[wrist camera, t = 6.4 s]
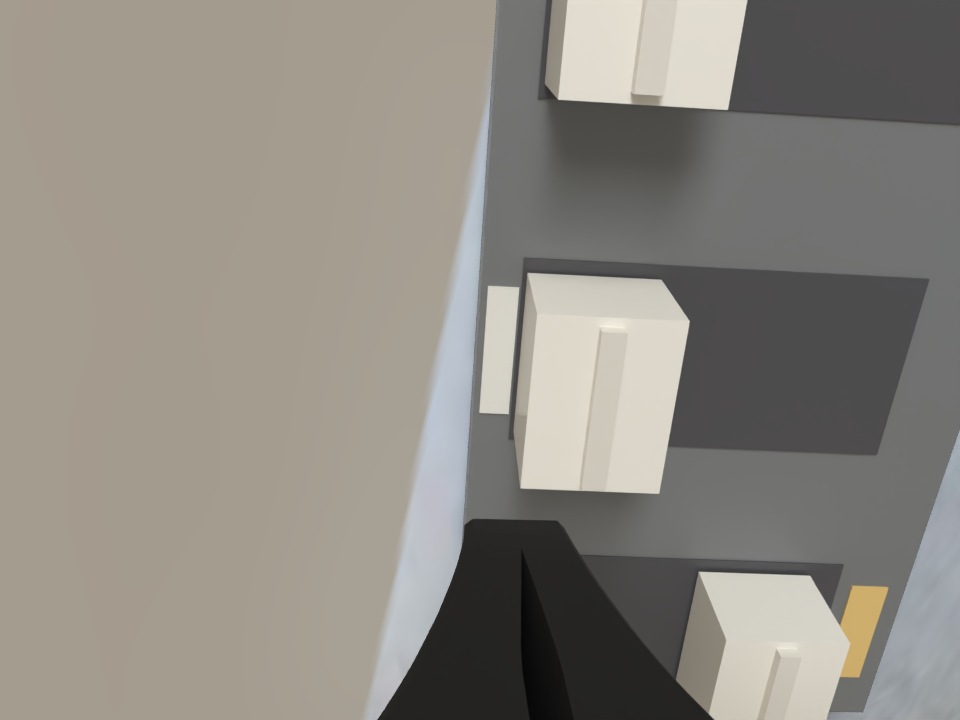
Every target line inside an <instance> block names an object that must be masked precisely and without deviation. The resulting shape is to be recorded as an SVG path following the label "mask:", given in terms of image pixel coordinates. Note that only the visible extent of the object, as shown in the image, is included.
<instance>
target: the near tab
mask: <svg viewBox="0 0 960 720" xmlns="http://www.w3.org/2000/svg"><path fill="white" fill-rule="evenodd" d="M746 6H747V0H552V7H551V18H550V30H549V41H548V52H547V63H546V74H545V85H546V86H547V87H548V88H549V89H550V91H551V92H552V93H553V94H554V95H555V97H556V98H557V99H558V100H571V101H588V102H604V103H620V104H637V105H653V106H670V107H686V108H702V109H719V110H728V107H729V101H730V95H731V90H732V84H733V79H734V73H735V67H736V62H737V56H738V50H739V45H740V39H741V34H742V28H743V22H744V17H745V11H746Z"/></svg>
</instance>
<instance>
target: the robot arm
mask: <svg viewBox="0 0 960 720" xmlns="http://www.w3.org/2000/svg"><path fill="white" fill-rule="evenodd" d="M377 720H714V719H713V718H712V717H711V716H710V715H709V714H708V713H707V712H706V711H705V710H704V709H703V708H702V707H701V706H700V705H699V704H698V703H697V702H696V701H695V700H694V699H693V698H692V697H691V696H690V695H689V694H688V693H687V691H686V690H685V689H684V688H683V687H682V686H681V685H680V684H679V683H678V682H677V681H676V680H675V679H674V677H673V676H672V675H671V674H670V673H669V672H668V671H667V670H666V668H665V667H664V666H663V665H662V664H661V663H660V662H659V660H658V659H657V658H656V657H655V656H654V654H653V653H652V652H651V651H650V650H649V649H648V647H647V646H646V645H645V644H644V643H643V641H642V640H641V639H640V638H639V636H638V635H637V634H636V633H635V631H634V630H633V629H632V628H631V626H630V625H629V624H628V622H627V621H626V620H625V618H624V617H623V616H622V614H621V613H620V612H619V610H618V609H617V608H616V606H615V605H614V604H613V602H612V601H611V600H610V598H609V597H608V596H607V594H606V593H605V591H604V590H603V588H602V587H601V586H600V584H599V583H598V581H597V580H596V578H595V577H594V575H593V574H592V572H591V571H590V569H589V568H588V566H587V565H586V563H585V562H584V560H583V559H582V557H581V555H580V554H579V552H578V551H577V549H576V547H575V546H574V544H573V542H572V541H571V539H570V537H569V535H568V534H567V532H566V530H565V528H564V527H563V526H562V525H561V524H560V523H559V522H558V521H557V520H511V519H472V520H470V521H469V522H468V523H466V524H465V525H464V538H463V544H462V549H461V553H460V556H459V560H458V563H457V566H456V569H455V572H454V575H453V578H452V581H451V583H450V586H449V588H448V591H447V593H446V596H445V598H444V600H443V603H442V605H441V608H440V610H439V612H438V615H437V617H436V619H435V621H434V623H433V625H432V627H431V629H430V631H429V633H428V635H427V637H426V639H425V641H424V643H423V645H422V647H421V649H420V651H419V653H418V655H417V656H416V658H415V660H414V662H413V664H412V665H411V667H410V669H409V671H408V672H407V674H406V676H405V678H404V679H403V681H402V683H401V684H400V686H399V687H398V689H397V691H396V692H395V694H394V695H393V697H392V698H391V700H390V702H389V703H388V705H387V706H386V708H385V709H384V711H383V712H382V714H381V715H380V717H379V718H378V719H377Z"/></svg>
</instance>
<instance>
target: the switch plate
mask: <svg viewBox="0 0 960 720" xmlns="http://www.w3.org/2000/svg"><path fill="white" fill-rule="evenodd" d="M551 7H552V0H497V6H496V21H495V36H494V52H493V68H492V83H491V99H490V114H489V130H488V146H487V161H486V177H485V193H484V208H483V224H482V239H481V255H480V271H479V286H478V302H477V318H476V333H475V349H474V364H473V380H472V396H471V411H470V427H469V443H468V458H467V474H466V490H465V505H464V521H463V536H462V544H463V538H464V525H465V524H466V523H468V522H469V521H470V520H472V519H511V520H557V521H558V522H559V523H560V524H561V525H562V526H563V527H564V528H565V530H566V532H567V534H568V535H569V537H570V539H571V541H572V542H573V544H574V546H575V547H576V549H577V551H578V552H579V554H580V555H581V557H582V559H583V560H584V562H585V563H586V565H587V566H588V568H589V569H590V571H591V572H592V574H593V575H594V577H595V578H596V580H597V581H598V583H599V584H600V586H601V587H602V588H603V590H604V591H605V593H606V594H607V596H608V597H609V598H610V600H611V601H612V602H613V604H614V605H615V606H616V608H617V609H618V610H619V612H620V613H621V614H622V616H623V617H624V618H625V620H626V621H627V622H628V624H629V625H630V626H631V628H632V629H633V630H634V631H635V633H636V634H637V635H638V636H639V638H640V639H641V640H642V641H643V643H644V644H645V645H646V646H647V647H648V649H649V650H650V651H651V652H652V653H653V654H654V656H655V657H656V658H657V659H658V660H659V662H660V663H661V664H662V665H663V666H664V667H665V668H666V670H667V671H668V672H669V673H670V674H671V675H672V676H673V677H674V679H675V680H676V677H677V672H678V667H679V662H680V658H681V653H682V648H683V643H684V639H685V634H686V629H687V624H688V620H689V615H690V610H691V605H692V601H693V596H694V591H695V586H696V582H697V577H698V572H720V573H749V574H777V575H806V576H811V578H812V580H813V582H814V583H815V585H816V587H817V588H818V590H819V592H820V593H821V595H822V597H823V598H824V600H825V602H826V603H827V605H828V607H829V609H830V610H831V612H832V614H833V615H834V617H835V619H836V620H837V622H838V624H839V625H840V627H841V629H842V631H843V632H844V634H845V636H846V637H847V639H848V641H849V642H850V647H849V650H848V653H847V656H846V659H845V663H844V666H843V669H842V672H841V675H840V678H839V681H838V685H837V688H836V691H835V694H834V697H833V700H832V703H831V706H830V710H829V711H832V712H863V710H864V708H865V705H866V702H867V699H868V696H869V693H870V690H871V687H872V684H873V681H874V678H875V675H876V672H877V670H878V667H879V664H880V661H881V658H882V655H883V652H884V649H885V646H886V643H887V640H888V637H889V634H890V632H891V629H892V626H893V623H894V620H895V617H896V614H897V611H898V608H899V605H900V602H901V599H902V596H903V594H904V591H905V588H906V585H907V582H908V579H909V576H910V573H911V570H912V567H913V564H914V561H915V558H916V555H917V553H918V550H919V547H920V544H921V541H922V538H923V535H924V532H925V529H926V526H927V523H928V520H929V517H930V515H931V512H932V509H933V506H934V503H935V500H936V497H937V494H938V491H939V488H940V485H941V482H942V479H943V477H944V474H945V471H946V468H947V465H948V462H949V459H950V456H951V453H952V450H953V447H954V444H955V441H956V439H957V436H958V433H959V430H960V0H747V6H746V11H745V17H744V22H743V28H742V34H741V39H740V45H739V50H738V56H737V62H736V67H735V73H734V79H733V84H732V90H731V95H730V101H729V107H728V110H719V109H702V108H686V107H670V106H653V105H637V104H620V103H604V102H588V101H571V100H558V99H557V98H556V97H555V95H554V94H553V93H552V92H551V91H550V89H549V88H548V87H547V86H546V85H545V74H546V63H547V52H548V41H549V30H550V18H551ZM527 273H541V274H560V275H580V276H599V277H619V278H638V279H657V280H662V281H663V283H664V284H665V286H666V287H667V289H668V290H669V292H670V293H671V294H672V296H673V297H674V299H675V300H676V302H677V303H678V305H679V306H680V308H681V309H682V311H683V312H684V314H685V315H686V316H687V318H688V319H689V321H690V323H689V329H688V335H687V340H686V346H685V351H684V357H683V363H682V368H681V374H680V379H679V385H678V391H677V396H676V402H675V408H674V413H673V419H672V424H671V430H670V436H669V441H668V447H667V452H666V458H665V464H664V469H663V475H662V481H661V486H660V492H659V494H650V493H624V492H599V491H574V490H548V489H523V488H520V481H519V473H518V465H517V456H516V448H515V440H514V432H513V430H514V419H515V407H516V396H517V385H518V374H519V362H520V351H521V340H522V329H523V318H524V306H525V295H526V284H527Z"/></svg>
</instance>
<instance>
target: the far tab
mask: <svg viewBox="0 0 960 720" xmlns="http://www.w3.org/2000/svg"><path fill="white" fill-rule="evenodd" d="M849 647H850V642H849V641H848V639H847V637H846V636H845V634H844V632H843V631H842V629H841V627H840V625H839V624H838V622H837V620H836V619H835V617H834V615H833V614H832V612H831V610H830V609H829V607H828V605H827V603H826V602H825V600H824V598H823V597H822V595H821V593H820V592H819V590H818V588H817V587H816V585H815V583H814V582H813V580H812V578H811V576H806V575H777V574H749V573H720V572H698V577H697V582H696V586H695V591H694V596H693V601H692V605H691V610H690V615H689V620H688V624H687V629H686V634H685V639H684V643H683V648H682V653H681V658H680V662H679V667H678V672H677V677H676V681H677V682H678V683H679V684H680V685H681V686H682V687H683V688H684V689H685V690H686V691H687V693H688V694H689V695H690V696H691V697H692V698H693V699H694V700H695V701H696V702H697V703H698V704H699V705H700V706H701V707H702V708H703V709H704V710H705V711H706V712H707V713H708V714H709V715H710V716H711V717H712V718H713V719H714V720H826V719H827V716H828V713H829V710H830V706H831V703H832V700H833V697H834V694H835V691H836V688H837V685H838V681H839V678H840V675H841V672H842V669H843V666H844V663H845V659H846V656H847V653H848V650H849Z"/></svg>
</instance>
